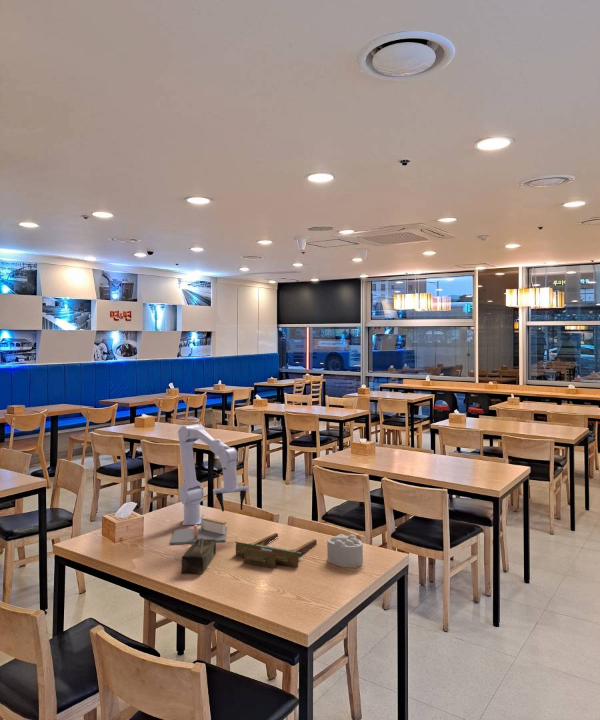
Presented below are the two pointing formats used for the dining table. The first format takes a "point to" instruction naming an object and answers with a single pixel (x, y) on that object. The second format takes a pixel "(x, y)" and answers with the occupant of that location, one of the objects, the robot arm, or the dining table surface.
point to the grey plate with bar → (195, 535)
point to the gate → (213, 525)
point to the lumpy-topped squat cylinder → (345, 550)
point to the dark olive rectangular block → (198, 556)
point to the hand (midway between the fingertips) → (232, 510)
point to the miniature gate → (271, 552)
